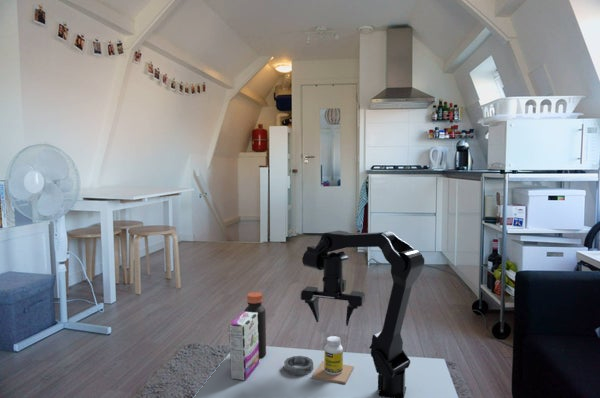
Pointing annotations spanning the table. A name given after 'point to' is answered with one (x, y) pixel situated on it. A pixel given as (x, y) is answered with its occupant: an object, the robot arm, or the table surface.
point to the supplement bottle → (333, 356)
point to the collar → (299, 370)
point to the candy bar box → (244, 345)
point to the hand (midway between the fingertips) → (332, 323)
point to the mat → (337, 378)
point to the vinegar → (256, 306)
